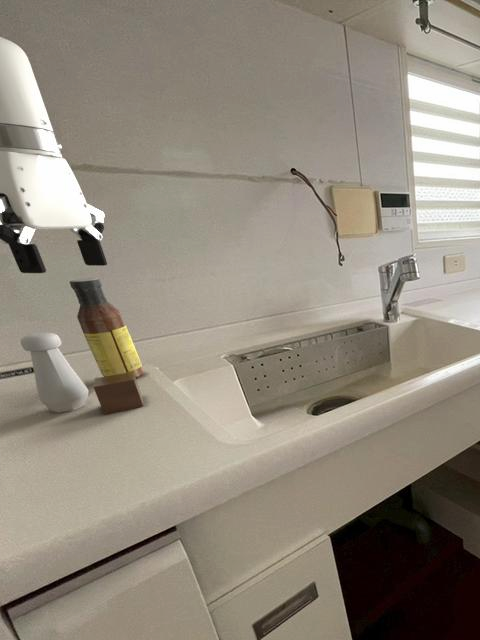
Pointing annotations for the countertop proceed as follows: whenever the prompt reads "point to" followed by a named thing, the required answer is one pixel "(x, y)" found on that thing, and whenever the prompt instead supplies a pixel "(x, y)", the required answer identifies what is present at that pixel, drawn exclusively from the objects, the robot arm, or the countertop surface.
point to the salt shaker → (54, 374)
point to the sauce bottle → (105, 330)
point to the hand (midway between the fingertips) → (67, 268)
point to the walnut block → (118, 392)
